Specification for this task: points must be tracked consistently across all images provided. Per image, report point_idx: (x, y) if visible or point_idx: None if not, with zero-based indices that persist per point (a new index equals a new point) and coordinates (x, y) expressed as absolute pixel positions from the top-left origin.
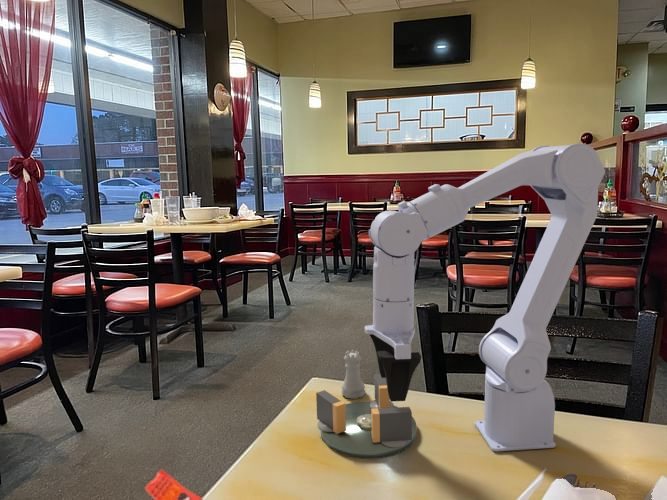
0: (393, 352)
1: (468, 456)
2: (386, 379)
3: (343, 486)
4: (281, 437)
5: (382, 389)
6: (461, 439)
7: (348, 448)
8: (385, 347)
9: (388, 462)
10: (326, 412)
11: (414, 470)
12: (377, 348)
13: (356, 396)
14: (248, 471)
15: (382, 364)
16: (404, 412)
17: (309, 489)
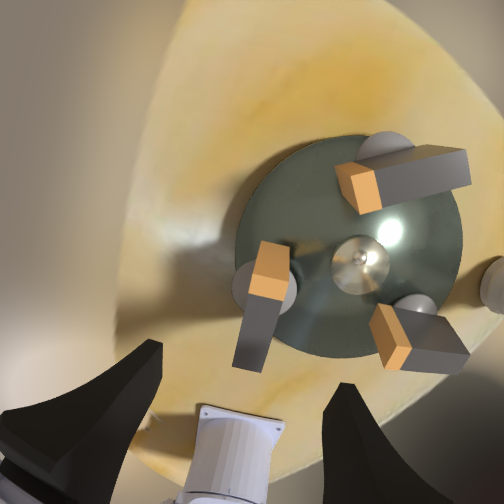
0: (31, 484)
1: (201, 374)
2: (106, 384)
3: (166, 132)
4: (399, 50)
5: (392, 350)
6: (252, 389)
7: (267, 175)
8: (349, 495)
9: (218, 248)
10: (395, 157)
11: (181, 283)
12: (366, 478)
13: (482, 282)
14: None
15: (12, 410)
16: (235, 352)
17: (177, 64)
